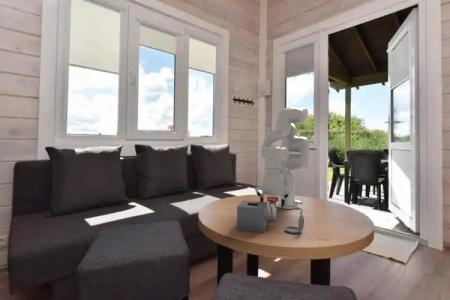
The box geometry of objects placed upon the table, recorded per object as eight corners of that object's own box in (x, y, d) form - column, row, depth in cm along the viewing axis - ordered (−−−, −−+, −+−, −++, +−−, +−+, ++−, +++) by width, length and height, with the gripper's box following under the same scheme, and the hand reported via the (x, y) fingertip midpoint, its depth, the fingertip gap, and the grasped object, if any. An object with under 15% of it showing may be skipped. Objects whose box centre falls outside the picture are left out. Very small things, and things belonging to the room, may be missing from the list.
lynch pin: (278, 219, 127) (278, 196, 126) (277, 222, 121) (278, 198, 121) (267, 218, 128) (267, 195, 128) (266, 221, 123) (266, 198, 122)
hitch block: (267, 223, 119) (267, 202, 119) (264, 232, 108) (264, 208, 107) (242, 221, 123) (242, 200, 122) (236, 229, 111) (237, 206, 111)
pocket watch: (283, 228, 113) (283, 206, 112) (301, 228, 114) (301, 206, 113) (289, 235, 105) (289, 212, 104) (308, 235, 105) (309, 211, 105)
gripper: (291, 171, 125) (290, 206, 125) (256, 170, 129) (255, 203, 130) (290, 173, 118) (290, 209, 118) (254, 171, 122) (253, 206, 122)
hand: (272, 206), depth 124 cm, fingers open, 9 cm apart
